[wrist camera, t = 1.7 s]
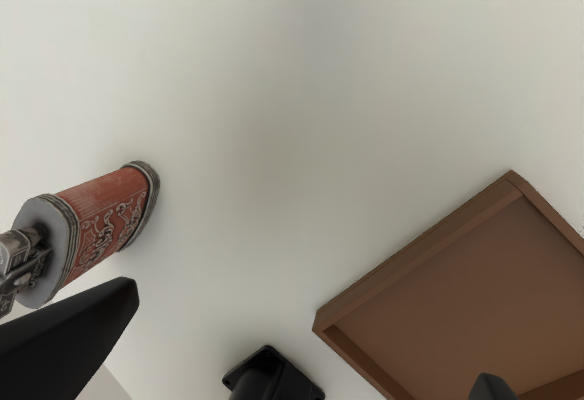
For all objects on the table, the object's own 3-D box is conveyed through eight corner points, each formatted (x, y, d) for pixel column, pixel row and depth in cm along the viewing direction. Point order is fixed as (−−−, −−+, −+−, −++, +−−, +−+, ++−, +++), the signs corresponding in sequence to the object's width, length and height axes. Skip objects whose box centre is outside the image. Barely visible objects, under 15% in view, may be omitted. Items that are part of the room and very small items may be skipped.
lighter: (129, 150, 22) (-41, 203, 13) (169, 179, 22) (27, 251, 13) (95, 230, 26) (-57, 314, 17) (130, 255, 26) (-3, 353, 17)
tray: (441, 425, 24) (446, 454, 23) (316, 310, 23) (311, 330, 22) (670, 332, 18) (702, 361, 16) (511, 169, 17) (526, 180, 15)
